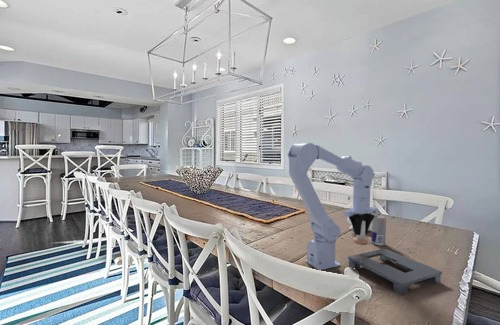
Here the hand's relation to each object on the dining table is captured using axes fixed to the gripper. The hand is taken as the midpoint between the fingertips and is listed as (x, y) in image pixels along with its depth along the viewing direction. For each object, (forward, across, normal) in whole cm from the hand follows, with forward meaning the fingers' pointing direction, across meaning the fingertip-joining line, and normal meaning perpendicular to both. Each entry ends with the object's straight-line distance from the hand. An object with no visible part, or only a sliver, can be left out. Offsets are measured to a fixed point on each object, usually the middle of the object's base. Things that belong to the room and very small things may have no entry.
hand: (360, 233), depth 96 cm
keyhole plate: (+9, 0, -13) cm, 16 cm away
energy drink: (+10, +19, +8) cm, 23 cm away
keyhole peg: (+3, 0, 0) cm, 3 cm away
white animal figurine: (+10, +26, +24) cm, 37 cm away
